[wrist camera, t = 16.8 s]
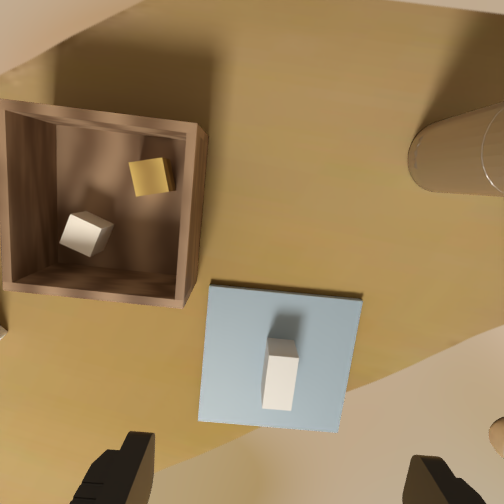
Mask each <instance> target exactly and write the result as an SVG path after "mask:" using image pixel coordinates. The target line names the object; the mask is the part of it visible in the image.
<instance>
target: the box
mask: <svg viewBox="0 0 504 504" xmlns="http://www.w3.org/2000/svg"><path fill="white" fill-rule="evenodd" d="M208 139H209V136H208V135H207V134H206V133H205V131H204V130H203V129H202V128H201V127H200V126H199V125H198V124H197V123H191V122H183V121H175V120H167V119H159V118H151V117H143V116H135V115H128V114H120V113H112V112H104V111H96V110H88V109H80V108H72V107H64V106H56V105H48V104H40V103H32V102H24V101H16V100H8V99H0V238H1V259H2V280H3V290H6V291H16V292H25V293H35V294H44V295H54V296H64V297H73V298H83V299H93V300H102V301H112V302H122V303H131V304H141V305H151V306H160V307H170V308H179V309H183V308H184V306H185V304H186V302H187V300H188V298H189V296H190V294H191V292H192V290H193V288H194V286H195V284H196V281H197V269H198V257H199V246H200V234H201V222H202V210H203V198H204V186H205V174H206V163H207V151H208ZM155 158H166V159H170V162H171V167H172V173H173V178H174V183H175V188H176V191H170V192H164V193H157V194H150V195H144V196H137V197H136V194H135V189H134V185H133V180H132V176H131V171H130V167H129V162H135V161H142V160H148V159H155ZM83 211H87V212H90V213H92V214H94V215H96V216H98V217H100V218H102V219H104V220H106V221H109V222H111V223H113V224H114V227H113V229H112V231H111V234H110V236H109V239H108V241H107V243H106V246H105V248H104V250H103V251H101V252H99V253H97V254H95V255H93V256H91V257H89V256H86V255H84V254H82V253H80V252H78V251H76V250H73V249H71V248H69V247H67V246H65V245H62V244H60V243H59V242H60V240H61V237H62V234H63V232H64V229H65V227H66V224H67V221H68V219H69V216H70V214H73V213H78V212H83Z"/></svg>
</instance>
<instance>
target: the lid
mask: <svg viewBox="0 0 504 504" xmlns="http://www.w3.org/2000/svg"><path fill="white" fill-rule="evenodd" d="M362 303H363V301H362V300H361V299H357V298H347V297H336V296H326V295H316V294H306V293H296V292H286V291H275V290H265V289H255V288H245V287H235V286H225V285H215V284H210V286H209V296H208V308H207V320H206V332H205V343H204V355H203V367H202V379H201V391H200V403H199V415H198V421H205V422H217V423H229V424H241V425H252V426H265V427H276V428H287V429H300V430H312V431H322V432H334V433H338V429H339V424H340V418H341V413H342V408H343V403H344V398H345V392H346V387H347V382H348V376H349V371H350V366H351V361H352V355H353V350H354V345H355V339H356V334H357V329H358V324H359V318H360V313H361V308H362Z"/></svg>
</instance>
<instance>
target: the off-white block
mask: <svg viewBox="0 0 504 504" xmlns="http://www.w3.org/2000/svg"><path fill="white" fill-rule="evenodd" d="M113 227H114V224H113V223H111V222H109V221H106V220H104V219H102V218H100V217H98V216H96V215H94V214H92V213H90V212H87V211H83V212H78V213H73V214H70V216H69V219H68V221H67V224H66V227H65V229H64V232H63V234H62V237H61V240H60V242H59V243H60V244H62V245H65V246H67V247H69V248H71V249H73V250H76V251H78V252H80V253H82V254H84V255H86V256H89V257H91V256H93V255H95V254H97V253H99V252H101V251H103V250H104V248H105V246H106V243H107V241H108V239H109V236H110V234H111V231H112V229H113Z"/></svg>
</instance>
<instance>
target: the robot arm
mask: <svg viewBox="0 0 504 504" xmlns="http://www.w3.org/2000/svg"><path fill="white" fill-rule="evenodd" d="M408 168H409V171H410V174H411V176H412V178H413V179H414V181H415V182H416V183H417V184H418V185H419V186H420V187H422V188H424V189H426V190H428V191H431V192H442V193H455V194H470V195H486V196H501V197H504V101H503V102H500V103H496V104H493V105H490V106H487V107H483V108H480V109H477V110H474V111H470V112H467V113H464V114H460V115H457V116H454V117H450V118H447V119H444V120H441V121H438V122H435V123H432V124H430V125H428V126H427V127H425V128H424V129H423V130H422V131H420V132H419V134H418V135H417V136H416V137H415V139H414V141H413V142H412V144H411V147H410V150H409V154H408ZM154 453H155V434H154V433H148V432H135V431H130V432H129V433H128V434H127V436H126V438H125V440H124V443H123V445H122V447H121V449H120V450H108V449H107V450H106V451H105V452H104V453H103V454H102V455H101V456H100V457H99V458H98V459H97V460H95V461H94V462H93V463H92V464H91V466H90V468H89V470H88V472H87V473H86V475H85V477H84V479H83V481H82V484H81V485H80V486H79V488H78V490H77V491H76V493H75V495H74V497H73V500H72V501H71V502H70V504H147V503H148V500H149V497H150V493H151V488H152V483H153V475H154ZM402 499H403V500H402V501H403V504H486V503H485V502H484V500H483V499H482V497H481V496H480V495H479V494H478V493H477V492H476V491H475V490H474V489H473V488H472V487H470V486H469V485H468V484H467V483H466V482H465V481H464V480H463V479H462V478H456V477H455V476H454V474H453V473H452V471H451V470H450V468H449V467H448V465H447V464H446V463H445V461H444V460H443V459H442V458H440V457H436V456H424V455H414V456H413V457H412V458H411V462H410V466H409V470H408V474H407V478H406V483H405V486H404V491H403V497H402Z"/></svg>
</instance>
